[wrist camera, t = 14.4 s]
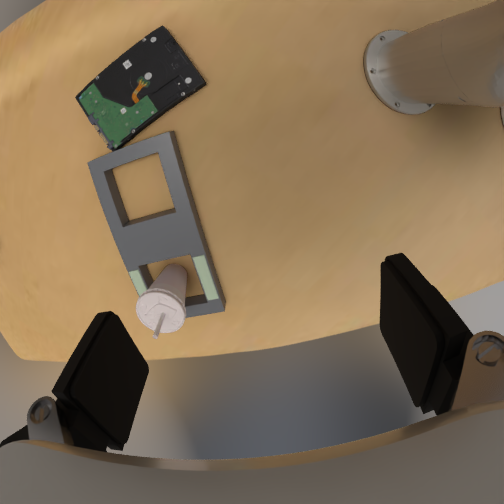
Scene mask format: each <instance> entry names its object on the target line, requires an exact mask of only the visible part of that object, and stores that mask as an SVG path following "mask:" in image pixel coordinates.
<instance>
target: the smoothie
mask: <svg viewBox="0 0 504 504" xmlns="http://www.w3.org/2000/svg"><path fill="white" fill-rule="evenodd" d="M186 284H187V272H186V270H185V269H184V268H183V267H182V266H181V265H179V264H169V265H167V266H166V267H165V268H164V270H163V271H162V272H161V273H160V275H159V276H158V277H157V278H156V280H155V281H154V282H153V284H152V285H151V286H150V287H149V289H148V290H146V291H144V292H143V293H142V294H141V295H140V297H139V298H138V301H137V304H136V313H137V315H138V318H139V319H140V321H141V322H142V323H143V324H144V325H145V326H146V327H148V328H150V329H151V330H154V331H155V332H154V334H153V338H155V339H157V338H158V335H159V332H160V333H171V332H174V331H176V330H178V329H179V328H181V326H182V325H183V323H184V320H185V318H186V308H185V295H186Z"/></svg>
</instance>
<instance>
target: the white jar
mask: <svg viewBox="0 0 504 504" xmlns="http://www.w3.org/2000/svg"><path fill="white" fill-rule="evenodd" d="M501 116H502V120H503V125H504V106H503V107H501Z"/></svg>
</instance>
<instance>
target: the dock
mask: <svg viewBox="0 0 504 504" xmlns="http://www.w3.org/2000/svg"><path fill="white" fill-rule="evenodd" d="M156 152H158V154H159V157H160V161H161V164H162V167H163V171H164V174H165V178H166V181H167V184H168V187H169V191H170V194H171V197H172V200H173V204H174V207H175V208H173V209H170V210H166V211H162V212H159V213H155V214H152V215H148V216H145V217H141V218H138V219H134V220H131V221H129V219H128V216H127V214H126V211H125V208H124V205H123V202H122V199H121V196H120V193H119V190H118V187H117V184H116V181H115V178H114V175H113V172H112V168H114V167H117V166H119V165H122V164H125V163H128V162H130V161H133V160H136V159H139V158H142V157H145V156H147V155H150V154H153V153H156ZM88 166H89V169H90V173H91V176H92V179H93V182H94V185H95V188H96V191H97V194H98V197H99V200H100V203H101V206H102V208H103V211H104V214H105V217H106V219H107V222H108V225H109V227H110V230H111V232H112V235H113V237H114V240H115V242H116V245H117V247H118V250H119V252H120V255H121V257H122V259H123V262H124V264H125V266H126V269H127V271H128V273H129V275H130V278H131V280H132V282H133V284H134V286H135V288H136V291H137V293H138V295H139V297H140V295H141V294H142V293H143V292H144V291H146V290H148V289H149V287H150V286H151V285H152V284H153V280H152V277H151V275H150V273H149V270H148V268H147V266H146V264H149V263H154V262H158V261H162V260H167V259H171V258H176V257H180V256H185V255H189V254H190V255H191V258H192V261H193V263H194V266H195V269H196V272H197V275H198V277H199V280H200V283H201V286H202V288H203V291H204V294H203V295H198V296H192V297H187V298H185V308H186V318H188V317H194V316H200V315H206V314H211V313H217V312H223V311H225V304H226V301H225V298H224V295H223V292H222V289H221V286H220V283H219V280H218V277H217V274H216V271H215V268H214V264H213V261H212V258H211V255H210V252H209V249H208V246H207V242H206V239H205V236H204V233H203V230H202V226H201V223H200V220H199V217H198V213H197V210H196V207H195V203H194V200H193V197H192V193H191V190H190V186H189V183H188V180H187V176H186V173H185V169H184V166H183V162H182V158H181V155H180V151H179V148H178V144H177V140H176V137H175V133H174V131H170V132H166V133H163V134H160V135H157V136H154V137H151V138H149V139H146V140H143V141H140V142H137V143H135V144H132V145H129V146H127V147H124V148H121V149H119V150H116V151H114V152H111V153H109V154H106V155H104V156H102V157H99V158H97V159H94V160H92V161H90V162H88Z"/></svg>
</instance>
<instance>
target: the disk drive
mask: <svg viewBox="0 0 504 504" xmlns="http://www.w3.org/2000/svg"><path fill="white" fill-rule="evenodd" d="M205 85H206V82H205V81H204V79H203V78H202V76H201V75H200V74H199V72H198V71H197V69H196V68H195V67H194V65H193V64H192V63H191V61H190V60H189V58H188V57H187V56H186V54H185V53H184V52H183V50H182V49H181V47H180V46H179V45H178V43H177V42H176V41H175V39H174V38H173V37H172V36H171V34H170V33H169V32H168V30H167V29H166V28H165V27H164V26H161V27H159V28H158V29H156V30H154V31H152V32H151V33H150V34H148V35H147V36H146V37H144V39H142V40H141V41H139V42H138V43H136V44H135V45H134V46H132V47H131V48H130V49H129V50H127V51H126V52H125V53H124V54H122V55H121V56H120V57H119V58H118V59H116V60H115V61H114V62H112V63H111V64H110V65H109V66H108V67H107V68H105V69H104V70H103V71H102V72H101V73H100V74H99V75H98V76H97V77H96V78H94V79H93V80H92V81H91V82H90V83H89V84H87V85H86V86H85V88H84V89H83V90H82V91H81V92H80V93H79V94H78V95H77V96H76V97H75V98H76V100H77V101H78V103H79V104H80V106H81V108H82V109H83V111H84V112H85V114H86V115H87V117H88V119H89V121H90V122H91V124H92V125H93V124H94V125H95V126H94V127H95V128H96V130H97V132H99V134H100V136H101V137H102V139H103V140H104V142H105V143H106V145H108V146H107V147H108V148H109V149H111V150H112V151H113V152H114V151H116V150H119V149H120V148H121V147H123V146H124V145H125V144H126V143H127V142H129V141H130V140H131V139H133V138H134V137H135V136H136V135H137V134H138V133H140V132H141V131H142V130H143V129H145V128H146V127H147V126H148V125H150V124H151V123H152V122H154V121H155V120H156V119H158V118H159V117H160V116H162V115H163V114H164V113H166V112H167V111H168V110H170V109H171V108H173V107H174V106H175V105H177V104H178V103H180V102H181V101H183V100H184V99H185V98H187V97H189V96H190V95H192V94H194V93H195V92H197V91H198V90H199V89H201V88H202V87H203V86H205Z"/></svg>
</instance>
